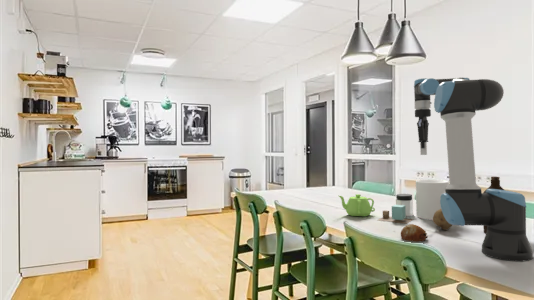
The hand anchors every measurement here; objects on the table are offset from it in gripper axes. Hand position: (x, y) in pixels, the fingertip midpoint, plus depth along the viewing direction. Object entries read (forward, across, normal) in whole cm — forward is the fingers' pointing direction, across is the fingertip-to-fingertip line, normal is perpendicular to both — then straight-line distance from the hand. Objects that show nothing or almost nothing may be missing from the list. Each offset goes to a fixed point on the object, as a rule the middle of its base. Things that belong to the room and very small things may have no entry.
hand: (423, 154), depth 179 cm
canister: (+35, +7, -2) cm, 35 cm away
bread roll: (+35, -37, -5) cm, 51 cm away
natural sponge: (+35, -15, -12) cm, 40 cm away
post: (+33, -11, +10) cm, 37 cm away
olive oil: (+35, -10, -32) cm, 48 cm away
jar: (+35, +5, +12) cm, 37 cm away
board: (+34, -10, +12) cm, 38 cm away
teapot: (+35, -9, +34) cm, 49 cm away
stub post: (+33, -7, +18) cm, 39 cm away
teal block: (+32, -11, +10) cm, 36 cm away
